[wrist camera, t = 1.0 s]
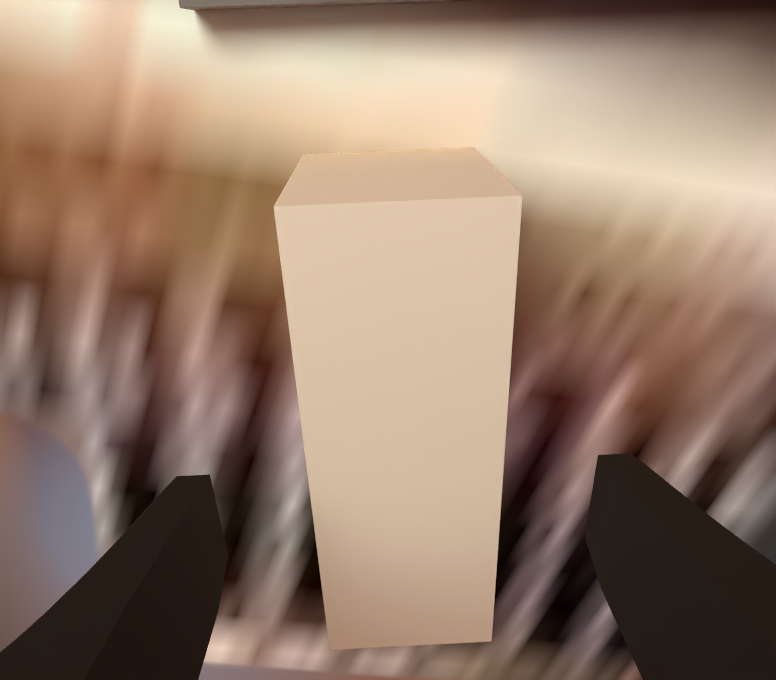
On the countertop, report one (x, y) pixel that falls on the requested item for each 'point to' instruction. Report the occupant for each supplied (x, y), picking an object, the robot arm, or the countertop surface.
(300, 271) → the beige rectangular block
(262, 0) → the peg stand
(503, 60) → the countertop surface
